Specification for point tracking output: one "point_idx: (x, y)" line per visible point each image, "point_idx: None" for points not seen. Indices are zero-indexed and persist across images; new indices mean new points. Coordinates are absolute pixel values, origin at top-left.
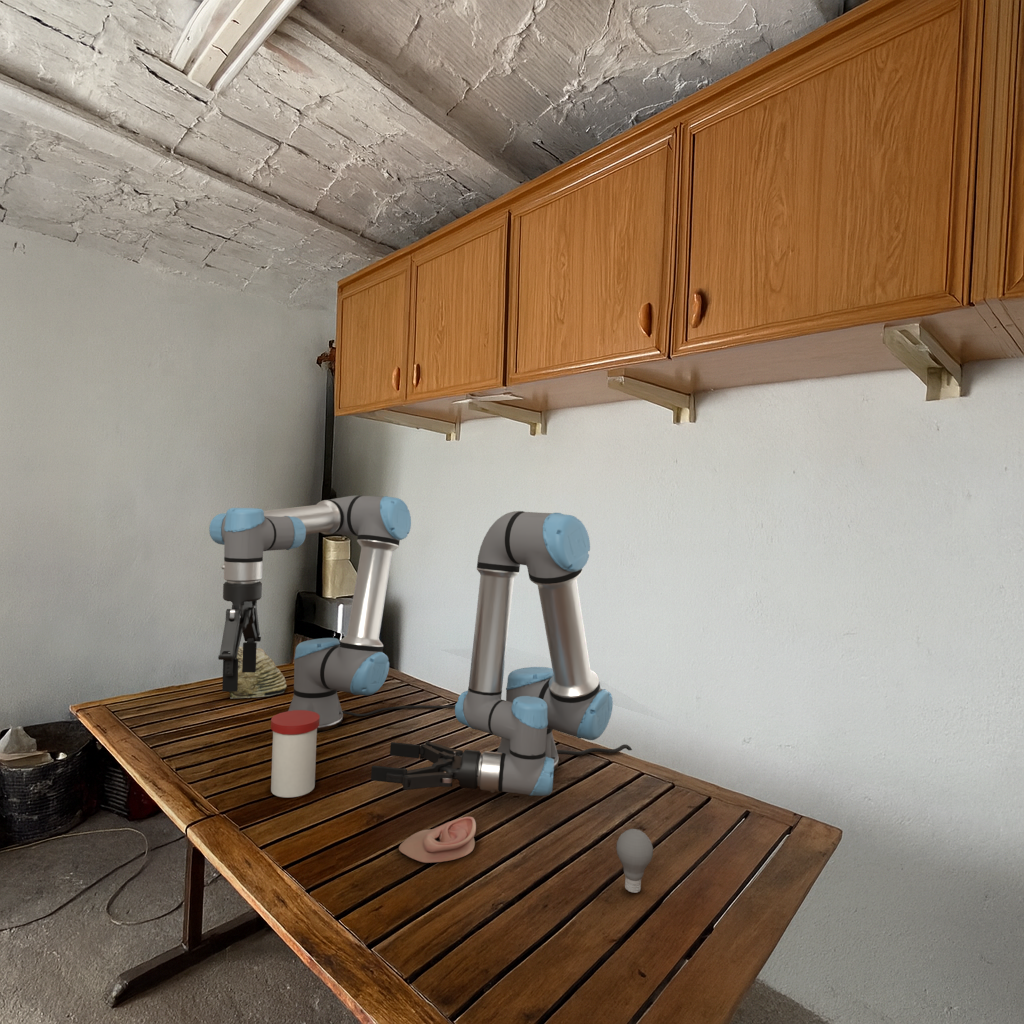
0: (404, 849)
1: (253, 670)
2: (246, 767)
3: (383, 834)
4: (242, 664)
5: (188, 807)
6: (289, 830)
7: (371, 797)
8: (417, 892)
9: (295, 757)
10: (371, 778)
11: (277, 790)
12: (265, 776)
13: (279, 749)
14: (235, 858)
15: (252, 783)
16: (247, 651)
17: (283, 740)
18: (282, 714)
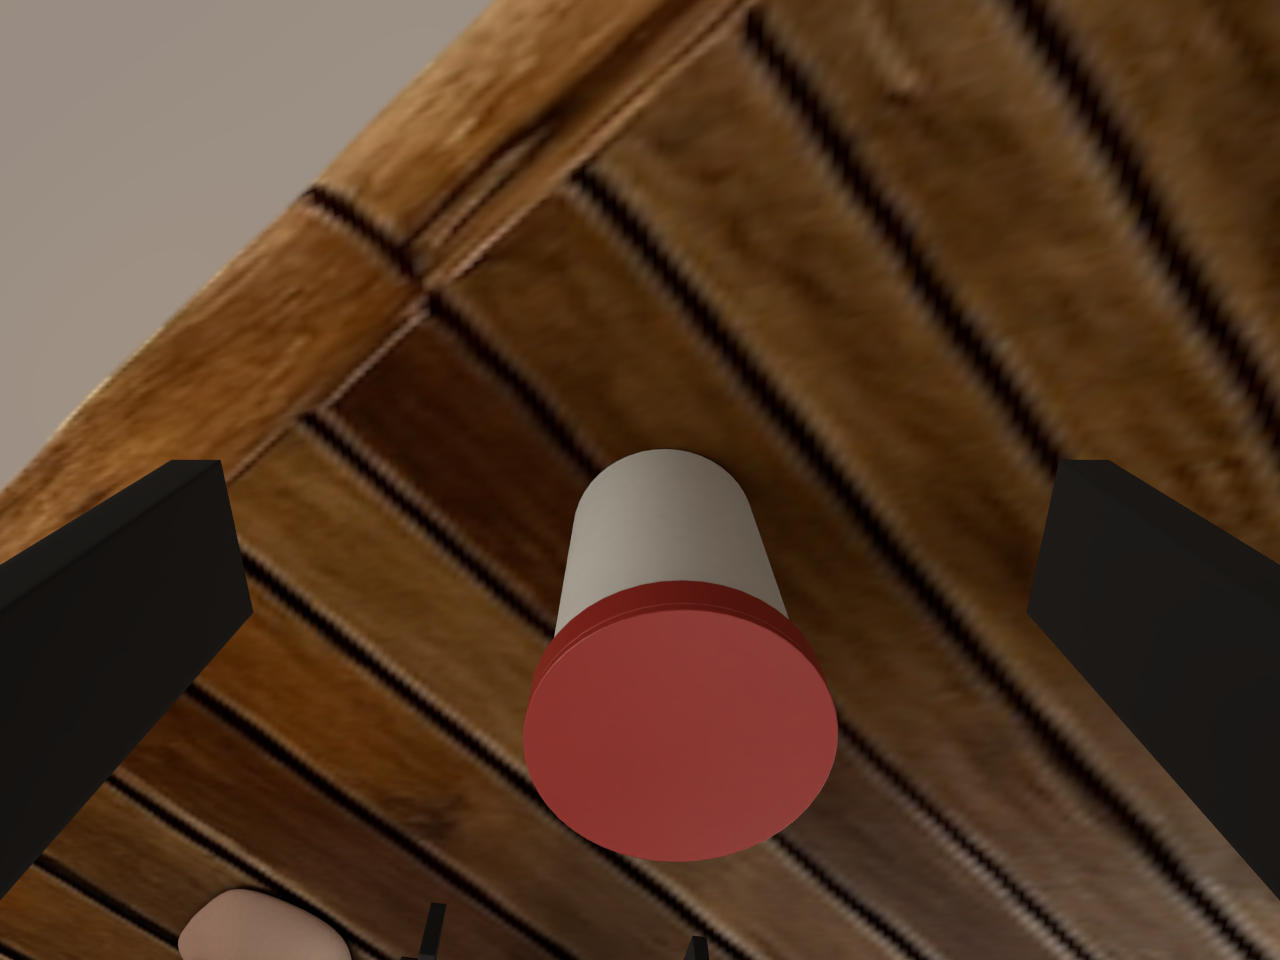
0: (215, 909)
1: (1045, 607)
2: (914, 273)
3: (326, 844)
4: (1125, 506)
5: (477, 122)
6: (318, 586)
7: None
8: (53, 926)
9: None
10: (430, 910)
11: (584, 499)
12: (793, 393)
13: (568, 595)
14: (106, 455)
15: (721, 353)
16: (1274, 707)
17: None
18: (752, 660)
